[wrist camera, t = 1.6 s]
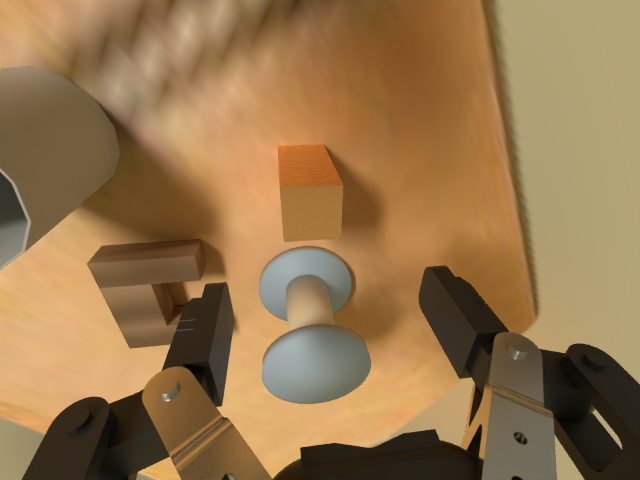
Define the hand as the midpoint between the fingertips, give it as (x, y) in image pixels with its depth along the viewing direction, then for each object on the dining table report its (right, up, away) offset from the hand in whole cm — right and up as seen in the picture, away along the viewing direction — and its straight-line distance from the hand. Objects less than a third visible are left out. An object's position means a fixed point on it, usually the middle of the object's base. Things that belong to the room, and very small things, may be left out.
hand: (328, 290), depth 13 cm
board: (-15, -2, +17) cm, 22 cm away
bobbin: (-2, -2, +19) cm, 19 cm away
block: (-2, +8, +12) cm, 14 cm away
